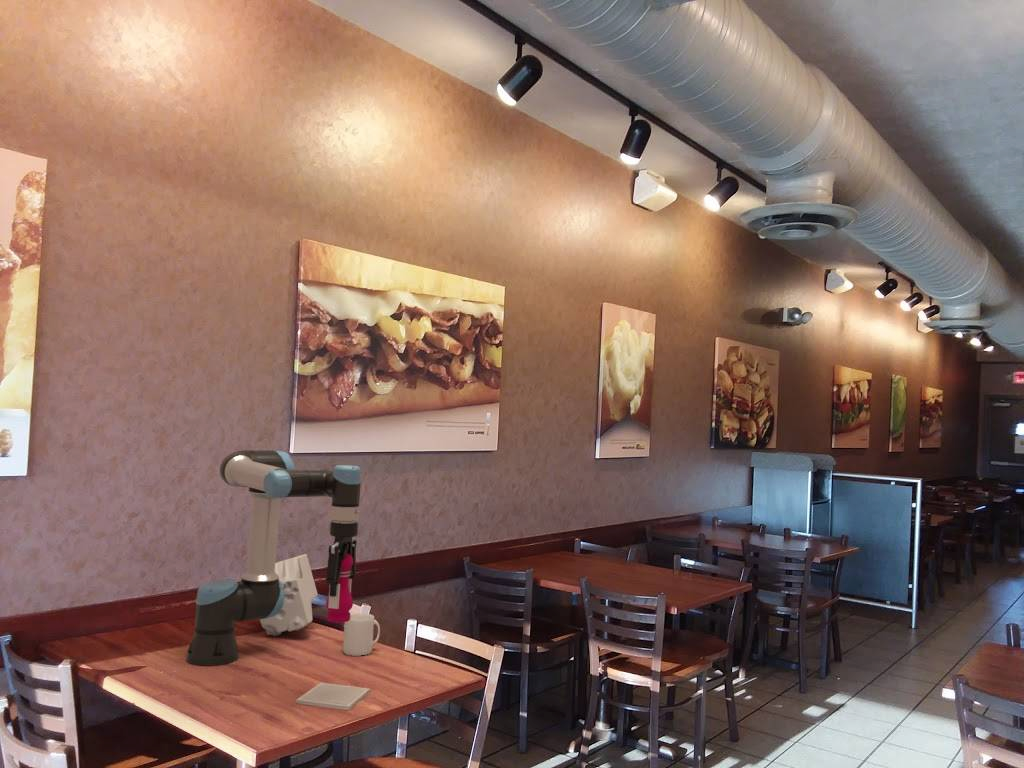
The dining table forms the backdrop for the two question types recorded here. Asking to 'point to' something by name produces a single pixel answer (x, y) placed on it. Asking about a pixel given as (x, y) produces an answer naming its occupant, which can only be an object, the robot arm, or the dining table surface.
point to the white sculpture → (293, 596)
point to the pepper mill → (342, 594)
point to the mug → (359, 634)
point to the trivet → (333, 696)
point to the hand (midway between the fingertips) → (339, 604)
